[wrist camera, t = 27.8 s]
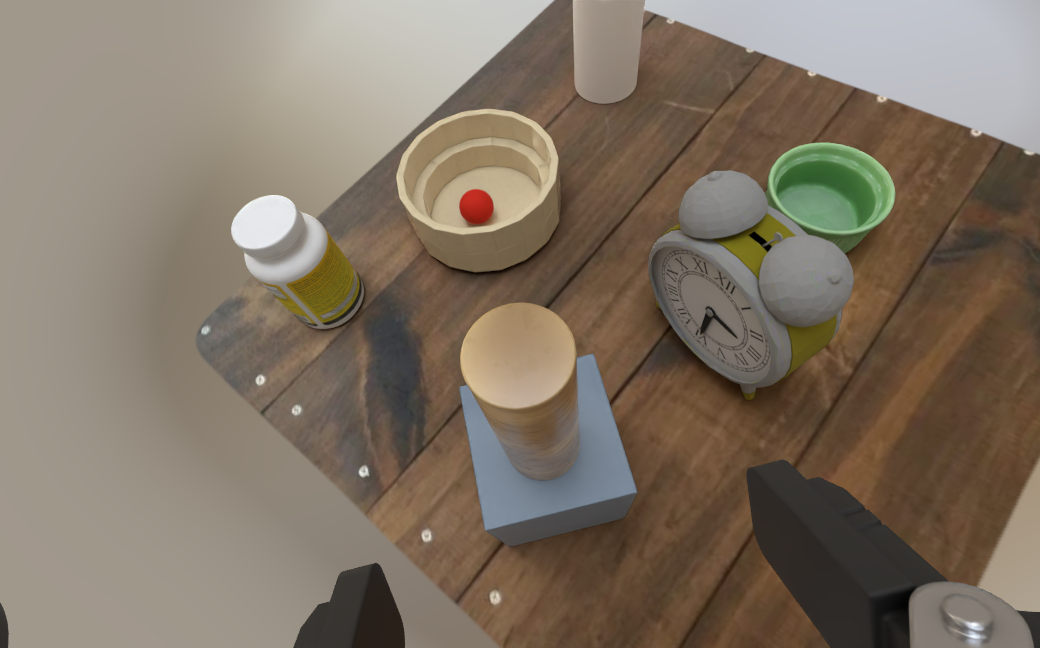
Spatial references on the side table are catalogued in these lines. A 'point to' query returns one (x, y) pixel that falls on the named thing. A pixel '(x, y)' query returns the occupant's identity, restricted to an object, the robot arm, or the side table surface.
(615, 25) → the candle
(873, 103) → the side table surface
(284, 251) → the pill bottle
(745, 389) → the alarm clock
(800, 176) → the ramekin
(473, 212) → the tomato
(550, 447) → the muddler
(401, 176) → the bowl
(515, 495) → the upright slate-blue block
